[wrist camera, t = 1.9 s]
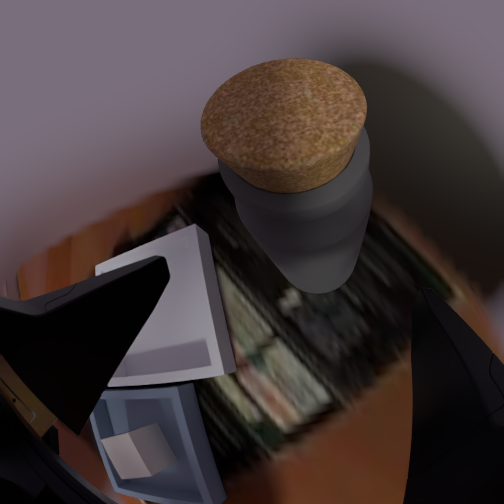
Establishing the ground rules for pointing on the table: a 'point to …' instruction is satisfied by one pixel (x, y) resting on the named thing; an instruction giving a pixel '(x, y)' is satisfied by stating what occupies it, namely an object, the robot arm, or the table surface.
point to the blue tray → (177, 435)
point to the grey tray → (178, 316)
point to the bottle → (296, 165)
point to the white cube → (139, 452)
